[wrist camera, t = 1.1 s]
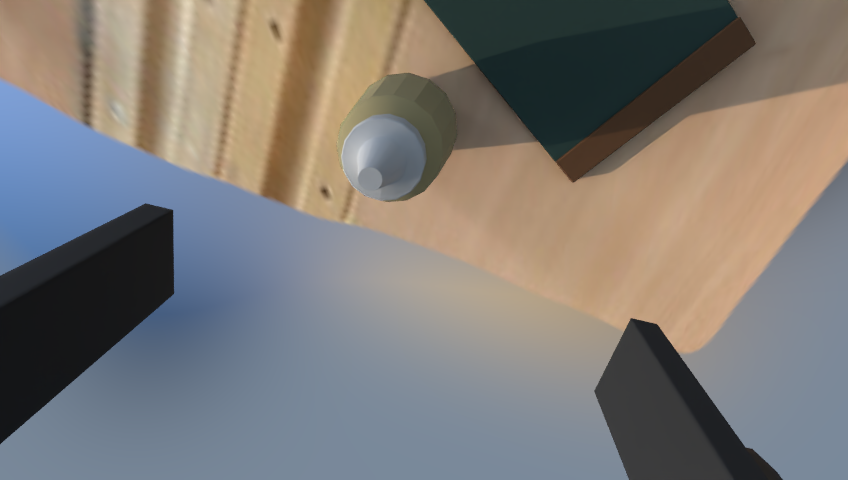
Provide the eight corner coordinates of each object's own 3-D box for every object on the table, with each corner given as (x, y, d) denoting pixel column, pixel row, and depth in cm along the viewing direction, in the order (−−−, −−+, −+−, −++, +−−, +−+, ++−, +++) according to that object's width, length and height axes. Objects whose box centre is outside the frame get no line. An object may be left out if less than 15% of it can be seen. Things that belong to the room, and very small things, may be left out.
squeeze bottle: (387, 51, 35) (324, 53, 19) (475, 101, 36) (489, 145, 20) (347, 140, 38) (262, 210, 22) (429, 184, 39) (407, 282, 23)
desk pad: (395, -35, 33) (393, -38, 32) (577, -239, 28) (580, -248, 27) (570, 180, 38) (572, 183, 37) (749, 43, 33) (756, 43, 32)
